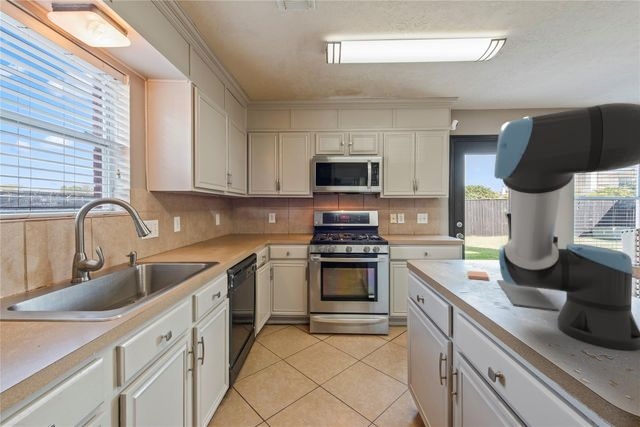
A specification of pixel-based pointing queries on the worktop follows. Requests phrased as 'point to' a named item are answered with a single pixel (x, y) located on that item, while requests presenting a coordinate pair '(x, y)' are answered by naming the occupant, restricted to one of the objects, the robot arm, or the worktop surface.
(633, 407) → the worktop surface
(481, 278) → the terracotta tile
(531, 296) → the rubber mat
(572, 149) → the robot arm
